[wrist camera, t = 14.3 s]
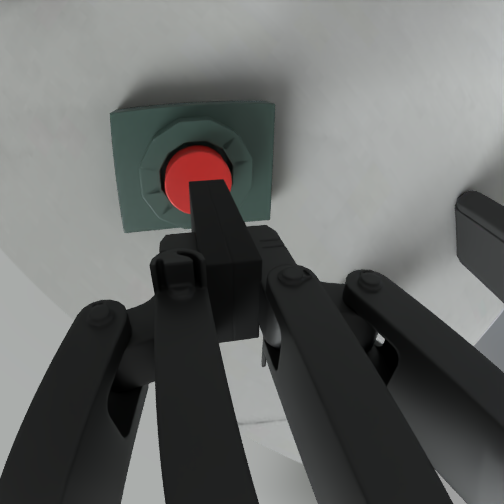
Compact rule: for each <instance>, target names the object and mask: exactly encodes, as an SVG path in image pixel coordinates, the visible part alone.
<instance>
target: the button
mask: <svg viewBox="0 0 504 504" xmlns="http://www.w3.org/2000/svg"><path fill="white" fill-rule="evenodd" d="M217 179H224V181H225V183H226V185H227V187H228V189H229V191H231V187H232V176H231V172H230V170H229V168H228V166H227V164H226V163H225V161H224V159H223V158H222V156H221V155H220V154H219V153H218V152H217V151H215V150H214V149H212V148H210V147H207V146H203V145H193V146H188V147H185V148H183V149H181V150H179V151H178V152H177V153H176V154H175V155H174V156H173V157H172V158H171V159H170V161H169V163H168V165H167V168H166V173H165V191H166V195H167V197H168V199H169V200H170V202H171V203H172V204H173V205H174V206H175V207H176V208H177V209H179V210H180V211H182V212H184V213H187V214H190V198H189V182H190V181H203V180H217Z"/></svg>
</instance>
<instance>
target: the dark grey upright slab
mask: <svg viewBox="0 0 504 504" xmlns="http://www.w3.org/2000/svg"><path fill="white" fill-rule="evenodd" d="M455 215H456V235H457V257H458V258H459V260H460V262H461V263H462V264H463V265H464V266H465V267H466V268H467V269H468V270H469V271H470V272H471V273H472V274H474V275H475V276H476V277H477V278H478V279H479V280H480V281H481V282H482V283H483V284H484V285H485V286H486V287H487V288H488V289H490V290H491V291H492V292H493V293H494V294H495V295H496V296H497V297H498V298H499V299H500V300H501V301H502V302H503V303H504V206H502V205H501V204H499V203H497V202H495V201H494V200H492V199H490V198H488V197H487V196H485V195H483V194H481V193H479V192H477V191H468V192H466V193H465V194H463V195H462V196H460V197H459V198H458V199H457V204H456V205H455Z"/></svg>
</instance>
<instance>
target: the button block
mask: <svg viewBox="0 0 504 504" xmlns="http://www.w3.org/2000/svg"><path fill="white" fill-rule="evenodd" d="M110 123H111V136H112V147H113V157H114V166H115V174H116V182H117V190H118V197H119V204H120V210H121V217H122V223H123V229H124V233H131V232H140V231H150V230H160V229H170V228H180V227H181V228H184V229H191V214H187V213H184V212H182V211H180V210H179V209H177V208H176V207H175V206H174V205H173V204H172V203H171V202H170V200H169V199H168V197H167V195H166V191H165V173H166V168H167V165H168V163H169V161H170V159H171V158H172V157H173V156H174V155H175V154H176V153H177V152H178V151H179V150H181V149H183V148H185V147H188V146H193V145H203V146H207V147H210V148H212V149H214V150H215V151H217V152H218V153H219V154H220V155H221V156H222V158H223V159H224V161H225V163H226V164H227V166H228V168H229V170H230V172H231V176H232V187H231V191H230V193H231V195H232V197H233V199H234V202H235V204H236V206H237V208H238V210H239V212H240V214H241V216H242V218H243V220H244V222H249V221H261V220H270V210H271V190H272V169H273V146H274V123H275V104H274V103H271V102H267V101H210V102H189V103H174V104H162V105H151V106H142V107H133V108H125V109H117V110H115V111H113V112H112V113H110Z"/></svg>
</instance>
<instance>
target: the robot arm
mask: <svg viewBox="0 0 504 504" xmlns="http://www.w3.org/2000/svg"><path fill="white" fill-rule="evenodd" d="M189 198H190V214H191V229H192V232H191V233H180V234H170V235H166V236H165V237H164V238H163V239H162V241H161V242H160V249H159V252H160V253H159V254H158V255H156V256H155V257H154V258H153V259H152V261H151V263H150V271H151V276H152V282H153V287H154V293H155V295H154V296H153V297H152V298H151V299H150V300H149V301H147V302H146V303H144V304H142V305H139V306H137V307H134V308H131V309H128V310H126V308H125V306H124V305H122V304H121V303H120V302H118V301H114V300H100V301H97V302H93V303H91V304H89V305H88V306H86V307H84V308H83V309H82V310H81V311H80V313H79V314H78V315H77V317H76V319H75V320H74V322H73V324H72V326H71V327H70V329H69V331H68V333H67V335H66V336H65V338H64V340H63V341H62V343H61V345H60V347H59V349H58V351H57V353H56V354H55V356H54V358H53V360H52V362H51V364H50V366H49V368H48V370H47V372H46V374H45V375H44V377H43V380H42V382H41V384H40V386H39V388H38V390H37V392H36V394H35V396H34V398H33V400H32V402H31V404H30V406H29V409H28V411H27V413H26V415H25V417H24V420H23V422H22V424H21V427H20V429H19V431H18V434H17V436H16V438H15V441H14V443H13V446H12V448H11V451H10V453H9V456H8V459H7V461H6V464H5V467H4V469H3V472H2V475H1V478H0V504H121V499H122V495H123V490H124V485H125V481H126V476H127V472H128V467H129V463H130V459H131V454H132V450H133V445H134V442H135V438H136V433H137V429H138V425H139V421H140V418H141V414H142V410H143V406H144V402H145V398H146V394H147V391H148V384H149V383H151V382H154V381H155V389H156V410H157V425H158V438H159V450H160V461H161V469H162V479H163V487H164V495H165V503H166V504H259V502H258V499H257V495H256V492H255V488H254V485H253V481H252V477H251V474H250V470H249V467H248V463H247V459H246V455H245V452H244V448H243V444H242V440H241V436H240V432H239V428H238V424H237V420H236V416H235V412H234V408H233V404H232V400H231V395H230V391H229V387H228V383H227V378H226V374H225V369H224V365H223V361H222V356H221V351H220V347H219V343H222V342H229V341H237V340H244V339H251V338H258V337H259V325H260V328H261V331H262V334H263V347H262V367H265V366H266V360H267V363H268V366H269V369H270V372H271V375H272V378H273V380H274V383H275V386H276V389H277V392H278V395H279V398H280V400H281V403H282V406H283V409H284V412H285V415H286V417H287V420H288V423H289V426H290V429H291V431H292V434H293V437H294V440H295V443H296V445H297V448H298V451H299V454H300V456H301V459H302V462H303V465H304V467H305V470H306V473H307V475H308V478H309V481H310V484H311V486H312V489H313V492H314V494H315V497H316V500H317V502H318V504H453V502H452V501H451V499H450V497H449V495H448V493H447V491H446V489H445V488H444V486H443V484H442V482H441V480H440V478H439V477H438V475H437V473H436V471H437V472H438V473H439V474H440V475H441V476H442V477H443V478H444V479H445V481H446V482H447V483H448V484H449V485H450V486H451V487H452V488H453V489H454V490H455V491H456V492H457V493H458V494H459V496H460V497H462V498H463V500H464V501H465V502H466V503H467V504H504V373H503V372H502V371H501V370H500V369H499V368H498V367H497V366H495V365H494V364H493V363H492V362H491V361H490V360H488V359H487V358H486V357H485V356H484V355H483V354H482V353H480V352H479V351H478V350H477V349H476V348H475V347H473V346H472V345H471V344H470V343H469V342H467V341H466V340H465V339H464V338H463V337H461V336H460V335H459V334H458V333H457V332H455V331H454V330H453V329H452V328H451V327H449V326H448V325H447V324H446V323H444V322H443V321H442V320H441V319H439V318H438V317H437V316H436V315H434V314H433V313H432V312H431V311H429V310H428V309H427V308H426V307H424V306H423V305H422V304H421V303H419V302H418V301H417V300H415V299H414V298H413V297H412V296H410V295H409V294H408V293H406V292H405V291H404V290H403V289H401V288H400V287H399V286H397V285H396V284H395V283H393V282H392V281H391V280H389V279H388V278H387V277H385V276H384V275H382V274H380V273H378V272H375V271H372V270H356V271H353V272H351V273H350V274H348V276H347V278H346V282H345V284H337V283H326V282H320V281H319V279H318V278H317V276H316V275H315V274H314V273H313V272H312V271H311V270H310V269H307V268H305V267H303V266H299V265H297V264H296V263H295V261H294V259H293V258H292V256H291V255H290V253H289V251H288V250H287V248H286V247H285V246H284V243H283V242H282V240H281V239H280V237H279V235H278V234H277V232H276V231H275V230H273V229H272V228H270V227H268V226H267V225H260V226H248V227H246V225H245V222H244V220H243V218H242V216H241V214H240V212H239V210H238V208H237V206H236V204H235V202H234V199H233V197H232V195H231V193H230V191H229V189H228V187H227V185H226V183H225V181H224V179H217V180H203V181H190V182H189ZM378 333H379V334H380V335H381V336H382V337H383V338H385V341H384V343H383V344H381V343H379V342H378V341H377V340H376V337H377V335H378ZM435 470H436V471H435Z"/></svg>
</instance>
